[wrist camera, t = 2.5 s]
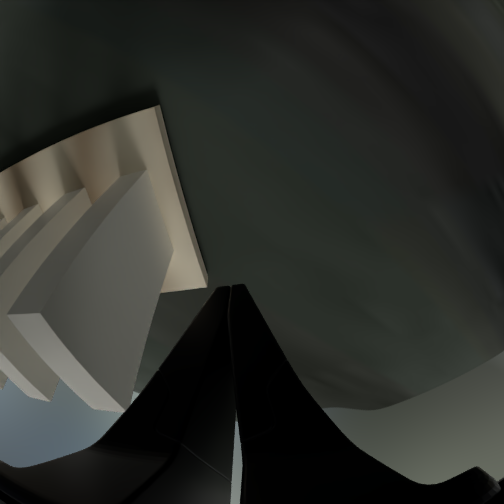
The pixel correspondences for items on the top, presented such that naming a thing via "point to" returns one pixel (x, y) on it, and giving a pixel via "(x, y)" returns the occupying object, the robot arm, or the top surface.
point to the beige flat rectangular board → (105, 174)
